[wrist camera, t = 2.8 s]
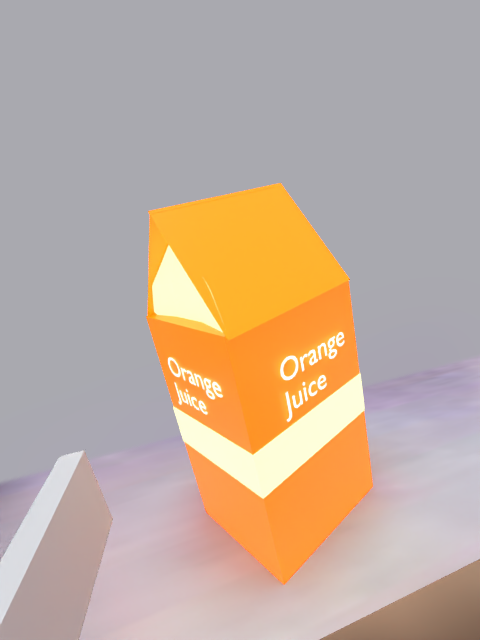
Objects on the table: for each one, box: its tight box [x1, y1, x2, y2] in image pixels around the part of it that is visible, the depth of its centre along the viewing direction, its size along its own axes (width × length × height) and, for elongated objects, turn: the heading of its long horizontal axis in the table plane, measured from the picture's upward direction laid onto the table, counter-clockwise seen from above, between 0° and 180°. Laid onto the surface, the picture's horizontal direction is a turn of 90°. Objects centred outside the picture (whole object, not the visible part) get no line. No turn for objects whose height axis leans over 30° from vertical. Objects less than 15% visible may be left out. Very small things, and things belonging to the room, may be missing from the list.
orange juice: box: [147, 183, 373, 585], centre depth 22 cm, size 8×9×20 cm
